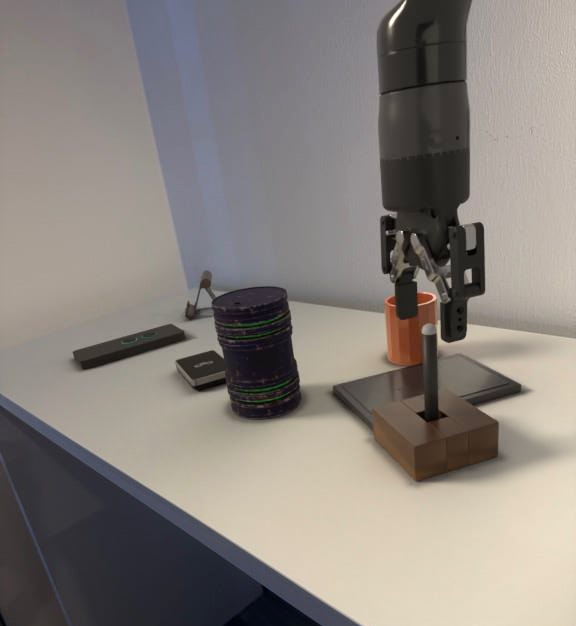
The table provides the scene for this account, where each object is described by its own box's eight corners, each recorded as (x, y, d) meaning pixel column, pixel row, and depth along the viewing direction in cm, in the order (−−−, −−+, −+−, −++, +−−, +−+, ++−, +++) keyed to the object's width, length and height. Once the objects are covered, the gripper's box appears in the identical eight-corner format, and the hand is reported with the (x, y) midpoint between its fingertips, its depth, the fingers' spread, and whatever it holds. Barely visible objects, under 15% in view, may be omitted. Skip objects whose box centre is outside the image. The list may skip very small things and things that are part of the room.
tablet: (460, 359, 79) (460, 352, 78) (521, 391, 67) (521, 383, 67) (333, 392, 74) (332, 385, 74) (374, 433, 63) (373, 424, 62)
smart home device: (185, 330, 104) (80, 361, 96) (186, 339, 105) (82, 370, 96) (170, 322, 111) (71, 350, 102) (172, 330, 112) (74, 358, 103)
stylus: (435, 442, 59) (431, 320, 53) (442, 448, 58) (439, 324, 52) (423, 446, 59) (418, 323, 53) (430, 452, 57) (426, 327, 52)
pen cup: (421, 344, 86) (419, 288, 82) (447, 358, 79) (446, 299, 76) (379, 354, 84) (375, 298, 81) (402, 370, 78) (399, 310, 74)
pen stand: (446, 418, 63) (446, 388, 62) (498, 456, 55) (499, 422, 53) (373, 439, 61) (371, 408, 60) (415, 482, 53) (414, 447, 51)
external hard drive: (215, 360, 92) (213, 349, 91) (238, 380, 82) (236, 368, 82) (176, 371, 89) (173, 360, 89) (194, 393, 80) (192, 381, 79)
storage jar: (254, 384, 80) (237, 286, 74) (314, 390, 76) (301, 285, 70) (216, 415, 72) (194, 308, 66) (280, 423, 68) (262, 309, 62)
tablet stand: (188, 309, 125) (181, 274, 121) (222, 304, 125) (215, 268, 122) (186, 320, 117) (178, 282, 113) (222, 315, 117) (215, 277, 114)
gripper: (517, 138, 41) (509, 340, 47) (420, 146, 53) (424, 304, 60) (428, 152, 39) (433, 359, 45) (350, 156, 52) (362, 318, 58)
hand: (428, 328), depth 53 cm, fingers open, 8 cm apart
